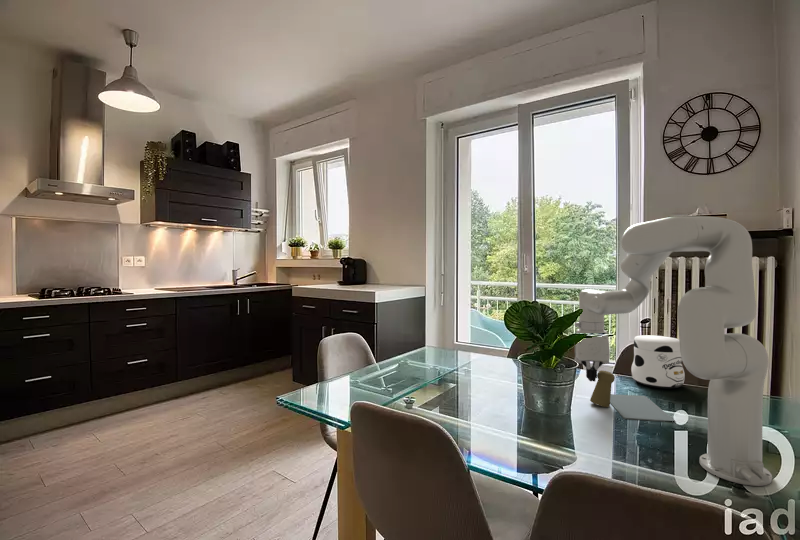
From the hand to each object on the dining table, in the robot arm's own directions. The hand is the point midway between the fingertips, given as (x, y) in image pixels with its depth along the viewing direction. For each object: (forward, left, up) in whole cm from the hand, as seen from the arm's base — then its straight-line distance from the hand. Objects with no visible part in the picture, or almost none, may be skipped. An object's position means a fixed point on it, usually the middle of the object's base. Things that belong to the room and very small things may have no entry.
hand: (591, 380), depth 132 cm
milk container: (+27, -30, -9) cm, 41 cm away
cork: (0, -2, -8) cm, 8 cm away
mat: (0, -13, -8) cm, 16 cm away
